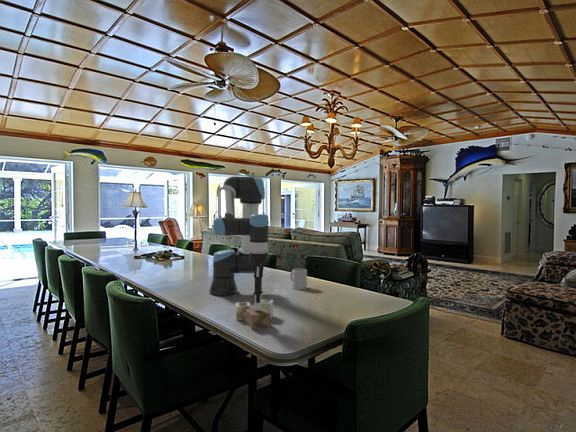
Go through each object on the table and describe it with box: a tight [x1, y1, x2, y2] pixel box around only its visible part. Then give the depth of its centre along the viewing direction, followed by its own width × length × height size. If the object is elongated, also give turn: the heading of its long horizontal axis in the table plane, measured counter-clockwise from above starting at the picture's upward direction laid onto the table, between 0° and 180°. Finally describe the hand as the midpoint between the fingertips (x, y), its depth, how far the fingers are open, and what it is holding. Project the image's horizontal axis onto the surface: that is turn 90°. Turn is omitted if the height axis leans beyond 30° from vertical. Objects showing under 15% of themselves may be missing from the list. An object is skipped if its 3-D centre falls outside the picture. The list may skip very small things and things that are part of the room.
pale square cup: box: [261, 299, 274, 319], centre depth 150 cm, size 5×5×7 cm
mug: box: [289, 267, 308, 291], centre depth 204 cm, size 12×8×11 cm
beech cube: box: [235, 301, 252, 321], centre depth 148 cm, size 6×6×6 cm
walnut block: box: [244, 307, 272, 330], centre depth 140 cm, size 8×8×6 cm
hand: (257, 309), depth 139 cm, fingers closed
